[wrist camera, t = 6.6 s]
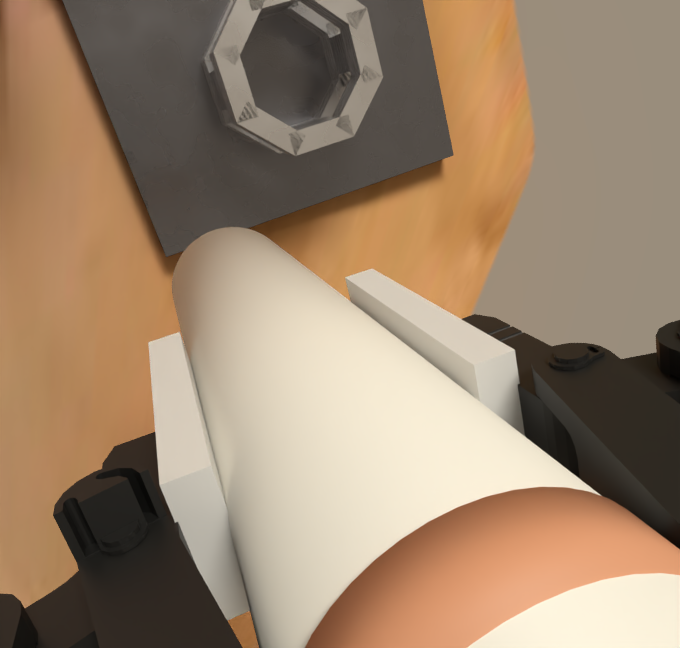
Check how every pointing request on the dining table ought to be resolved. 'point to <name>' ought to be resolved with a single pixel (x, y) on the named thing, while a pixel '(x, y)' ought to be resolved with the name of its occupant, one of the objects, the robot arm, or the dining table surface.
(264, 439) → the cream ringed tube
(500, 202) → the dining table surface
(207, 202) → the tube holder base
